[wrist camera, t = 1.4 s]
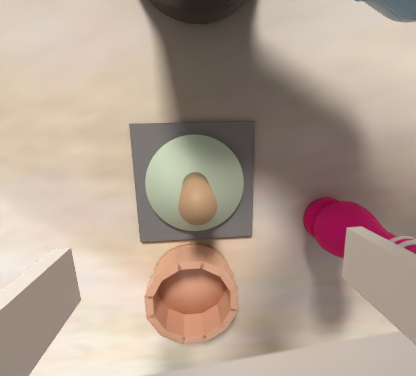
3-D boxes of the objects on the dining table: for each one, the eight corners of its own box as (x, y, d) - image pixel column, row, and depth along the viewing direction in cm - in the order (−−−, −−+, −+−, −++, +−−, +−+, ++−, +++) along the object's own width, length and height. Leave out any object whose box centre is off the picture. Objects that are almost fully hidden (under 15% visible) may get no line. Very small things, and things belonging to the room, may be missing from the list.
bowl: (148, 246, 32) (141, 264, 27) (231, 241, 33) (238, 258, 28) (155, 317, 34) (149, 346, 29) (231, 311, 35) (238, 338, 30)
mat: (130, 124, 28) (129, 123, 28) (252, 121, 29) (254, 121, 29) (141, 240, 32) (140, 241, 31) (251, 234, 33) (252, 235, 32)
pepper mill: (292, 231, 33) (437, 358, 14) (312, 187, 32) (505, 256, 12) (332, 245, 34) (522, 383, 15) (354, 203, 33) (592, 291, 13)
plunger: (142, 135, 28) (112, 131, 17) (242, 133, 29) (273, 128, 18) (150, 231, 31) (128, 278, 20) (242, 226, 32) (268, 269, 21)
